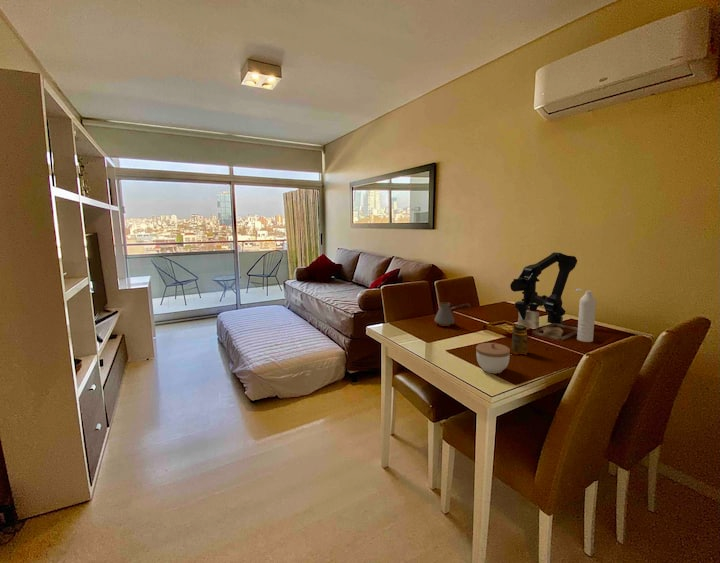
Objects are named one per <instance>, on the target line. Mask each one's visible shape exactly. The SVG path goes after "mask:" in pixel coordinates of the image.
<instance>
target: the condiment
mask: <svg viewBox="0 0 720 563" xmlns="http://www.w3.org/2000/svg"><path fill="white" fill-rule="evenodd" d="M513 326H514V325H513ZM527 328H528V327H526V326H523V325H517V324H515V326H514V327H513V331H512V336H511V349H512V350H513V351H515V352H518V353H525V352H526V351H527V348H528V346H527V345H528V333H527Z"/></svg>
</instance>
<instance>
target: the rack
mask: <svg viewBox="0 0 720 563" xmlns="http://www.w3.org/2000/svg"><path fill="white" fill-rule="evenodd" d="M544 327H560V328H564V329H569V330H574V331H572V332H570V333H567V334H565V335H563V336H562V337H558V336H551V335H547V334H543V333H542V332H544V331H543V330H542V327H541V328H537V329H535V330H533V331H531V335H535V336H540V337H545V338H549V339H552V340H555V341H560V342H562V341H564V340H567V339H569V338H571V337H573V336H575V335H577V332H578V327H576V326H570V325H567V324H557V323H553V324H552V323H549V324H548V325H546V326H544Z"/></svg>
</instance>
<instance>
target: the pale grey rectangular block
mask: <svg viewBox="0 0 720 563" xmlns="http://www.w3.org/2000/svg"><path fill="white" fill-rule="evenodd" d="M517 311H518V310H517ZM517 315H518V316H517V324H519V325H523V326H526V328H531V329H535V330H538V329H540V328H539V327H540V326H539V325H540V312H539V311H536V312H534V311H530V309H528V310H527V311H526V317H525V320H523V319H522V317H521V315H520V313H519V311H518V314H517Z"/></svg>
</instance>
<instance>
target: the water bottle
mask: <svg viewBox="0 0 720 563" xmlns="http://www.w3.org/2000/svg"><path fill="white" fill-rule="evenodd" d="M582 291H583V289H581V288H576V289H575V292H579V293H580V292H582ZM592 293H593V292H592V290H585V293H584V294H583V295H582V296H581V297H580V299H579V307H578V308H579V309H578V316H577V317H578V318H577V319H578V321H577V328H578V332H577V334H576V335H577V336H576V340H577V341H579V342H582V343H583V342H584V343H591V342H594V332H595V331H594V330H595V321H596V320H595V319H596V309H597V308H596V305H597V299H596V298H595V297H594V295H593V294H592Z"/></svg>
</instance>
